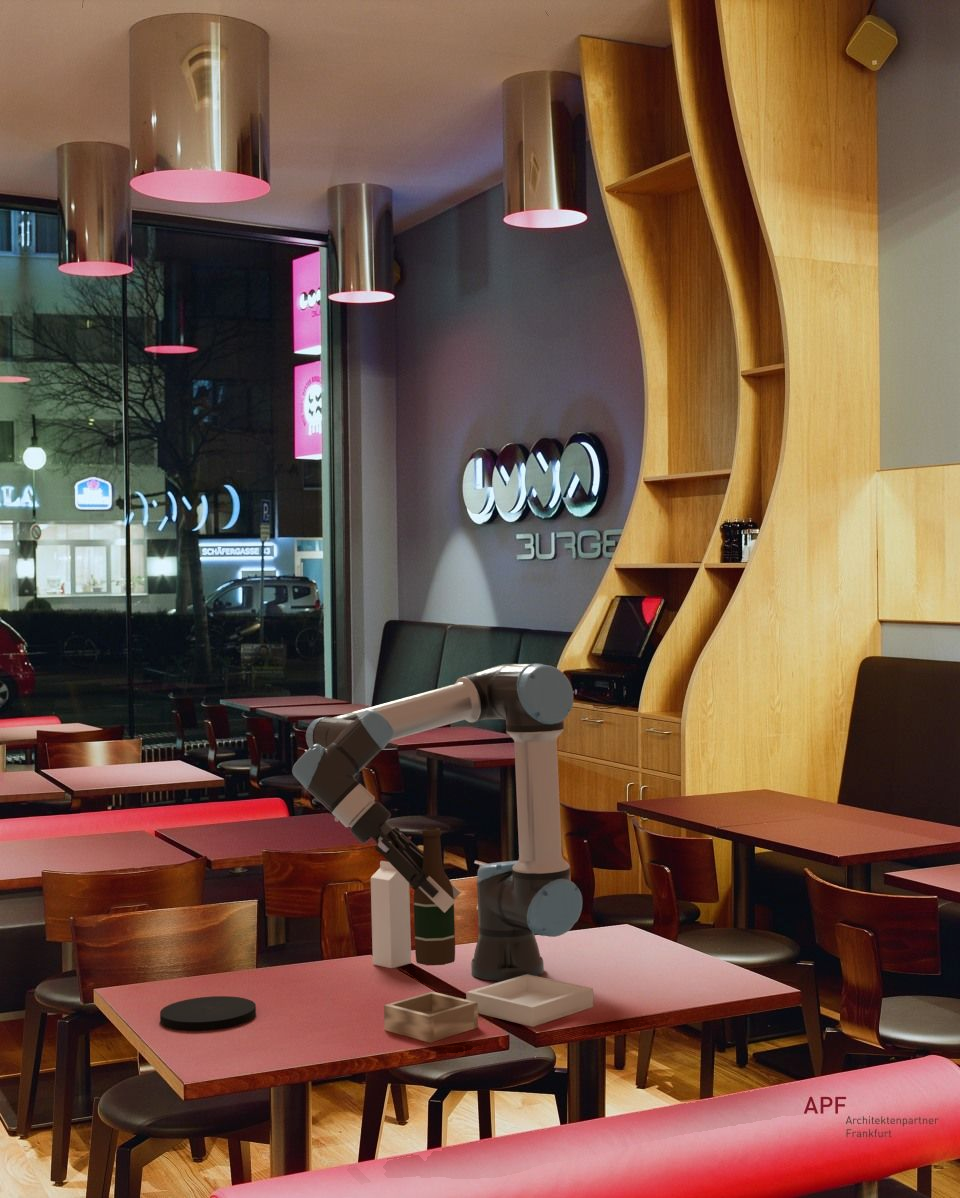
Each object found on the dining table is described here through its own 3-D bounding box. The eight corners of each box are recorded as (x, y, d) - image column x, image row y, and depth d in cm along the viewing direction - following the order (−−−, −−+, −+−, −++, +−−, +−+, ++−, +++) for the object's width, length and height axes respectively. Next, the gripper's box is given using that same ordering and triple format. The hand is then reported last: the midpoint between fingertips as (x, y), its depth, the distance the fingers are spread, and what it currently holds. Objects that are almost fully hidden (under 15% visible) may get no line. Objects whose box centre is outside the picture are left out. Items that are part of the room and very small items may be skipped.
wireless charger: (162, 1037, 255) (162, 1026, 255) (158, 1011, 272) (157, 1001, 272) (261, 1027, 260) (260, 1016, 260) (250, 1002, 277) (250, 992, 277)
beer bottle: (407, 964, 254) (403, 831, 254) (425, 954, 261) (420, 824, 261) (446, 967, 251) (442, 832, 251) (463, 956, 258) (459, 826, 258)
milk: (392, 959, 308) (390, 858, 309) (411, 963, 304) (409, 861, 305) (372, 964, 304) (369, 862, 304) (391, 968, 300) (388, 865, 300)
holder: (384, 1030, 255) (384, 1005, 255) (432, 1015, 263) (432, 991, 263) (430, 1042, 246) (429, 1016, 246) (478, 1027, 255) (477, 1002, 255)
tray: (466, 1010, 266) (466, 991, 266) (527, 991, 278) (527, 974, 278) (532, 1026, 254) (532, 1007, 254) (593, 1006, 266) (592, 988, 266)
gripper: (359, 821, 268) (446, 905, 266) (336, 838, 248) (430, 929, 246) (386, 792, 267) (473, 877, 265) (365, 807, 247) (459, 899, 245)
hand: (452, 902), depth 255 cm, fingers closed on beer bottle, 7 cm apart
